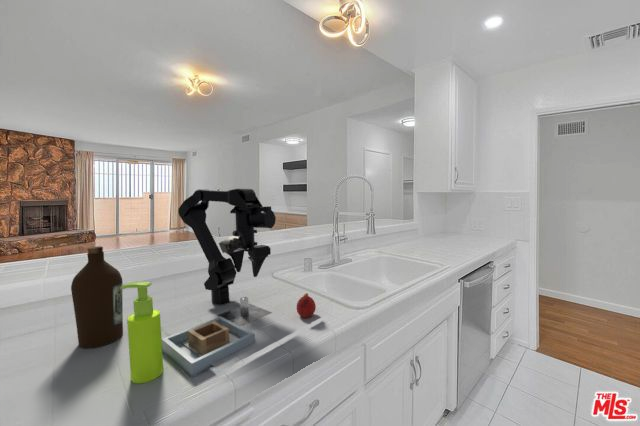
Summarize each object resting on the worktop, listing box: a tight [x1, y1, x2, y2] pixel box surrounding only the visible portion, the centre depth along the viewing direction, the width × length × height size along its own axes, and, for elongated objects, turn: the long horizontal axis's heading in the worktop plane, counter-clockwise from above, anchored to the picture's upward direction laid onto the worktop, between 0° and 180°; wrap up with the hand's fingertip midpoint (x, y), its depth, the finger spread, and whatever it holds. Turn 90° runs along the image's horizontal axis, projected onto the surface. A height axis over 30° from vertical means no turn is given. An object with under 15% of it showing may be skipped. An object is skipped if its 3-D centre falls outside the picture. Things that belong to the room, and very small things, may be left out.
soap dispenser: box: [120, 281, 164, 384], centre depth 59 cm, size 6×7×20 cm
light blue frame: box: [162, 316, 256, 378], centre depth 70 cm, size 16×16×3 cm
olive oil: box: [70, 245, 124, 349], centre depth 74 cm, size 11×11×25 cm
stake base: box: [216, 296, 273, 327], centre depth 87 cm, size 12×12×6 cm
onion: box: [296, 292, 316, 319], centre depth 85 cm, size 6×6×8 cm
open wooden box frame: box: [188, 321, 230, 356], centre depth 70 cm, size 7×7×4 cm
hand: (246, 274), depth 92 cm, fingers open, 9 cm apart
